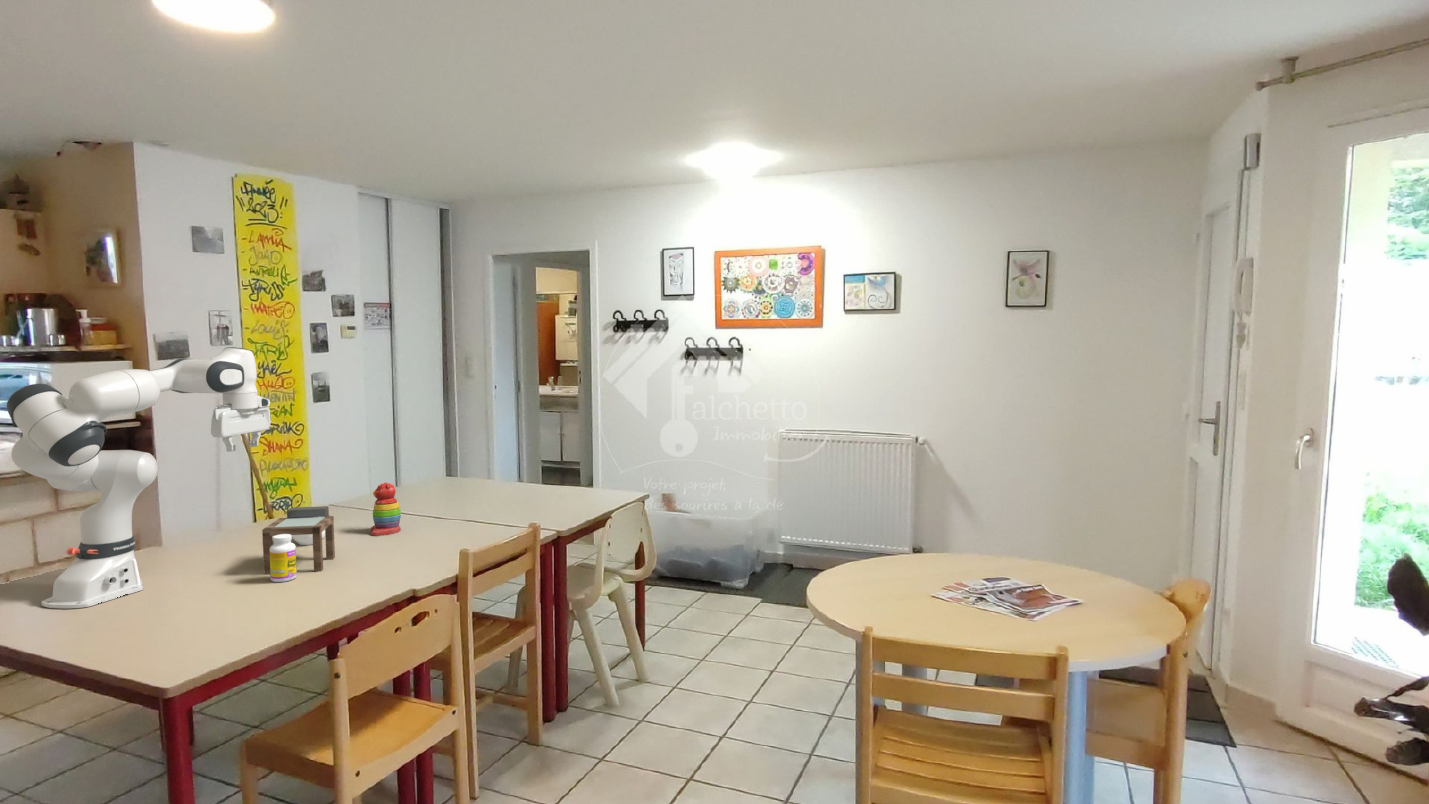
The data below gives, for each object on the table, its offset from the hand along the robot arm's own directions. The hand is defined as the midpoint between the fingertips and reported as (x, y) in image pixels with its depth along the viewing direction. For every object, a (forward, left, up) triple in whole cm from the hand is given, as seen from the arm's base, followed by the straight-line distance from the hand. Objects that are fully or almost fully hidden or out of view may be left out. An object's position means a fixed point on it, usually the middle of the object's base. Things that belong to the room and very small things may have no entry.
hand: (242, 448), depth 226 cm
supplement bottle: (-6, -16, -37) cm, 41 cm away
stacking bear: (+49, -16, -37) cm, 64 cm away
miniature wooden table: (+7, -12, -37) cm, 40 cm away
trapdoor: (+10, -11, -27) cm, 31 cm away
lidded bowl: (+32, +2, -37) cm, 49 cm away
